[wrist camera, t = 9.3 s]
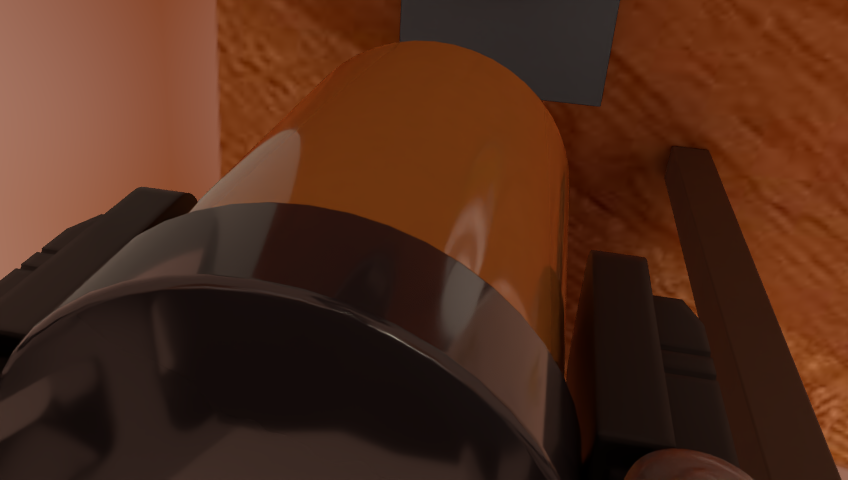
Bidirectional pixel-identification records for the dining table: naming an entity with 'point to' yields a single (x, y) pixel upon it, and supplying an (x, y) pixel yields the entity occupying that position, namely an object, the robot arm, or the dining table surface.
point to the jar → (329, 302)
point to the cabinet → (743, 332)
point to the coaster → (526, 39)
